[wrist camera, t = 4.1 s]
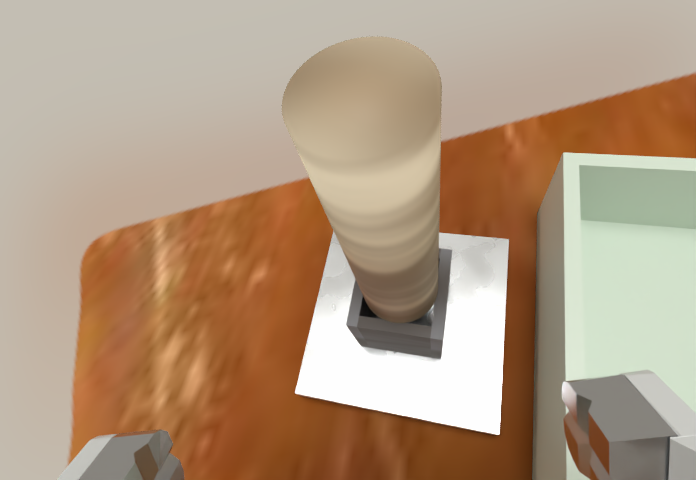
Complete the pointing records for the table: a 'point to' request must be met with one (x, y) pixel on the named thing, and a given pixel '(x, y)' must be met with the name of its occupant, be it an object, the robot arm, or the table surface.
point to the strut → (378, 182)
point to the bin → (612, 285)
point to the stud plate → (411, 370)
